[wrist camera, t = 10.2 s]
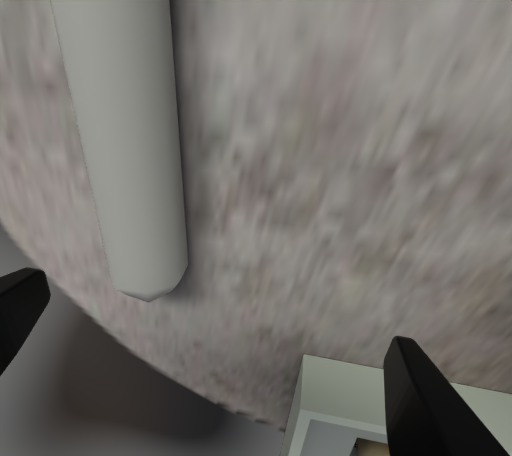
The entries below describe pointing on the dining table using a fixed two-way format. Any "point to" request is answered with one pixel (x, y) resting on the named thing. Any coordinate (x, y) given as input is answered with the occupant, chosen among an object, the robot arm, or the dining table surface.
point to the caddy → (364, 409)
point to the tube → (128, 135)
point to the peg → (371, 448)
